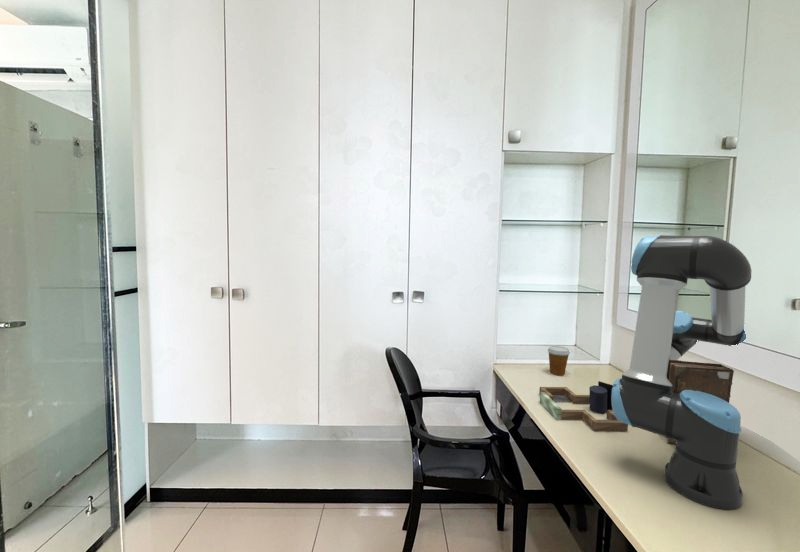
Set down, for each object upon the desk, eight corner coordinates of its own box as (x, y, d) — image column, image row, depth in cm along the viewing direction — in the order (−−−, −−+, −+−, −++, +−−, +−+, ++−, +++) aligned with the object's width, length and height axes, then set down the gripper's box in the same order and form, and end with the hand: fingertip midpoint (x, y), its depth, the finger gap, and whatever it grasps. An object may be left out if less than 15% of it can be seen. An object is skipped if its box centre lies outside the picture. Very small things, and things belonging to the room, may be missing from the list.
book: (717, 440, 115) (726, 363, 112) (731, 453, 108) (741, 371, 105) (657, 432, 119) (664, 358, 117) (667, 444, 112) (674, 365, 110)
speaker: (600, 404, 139) (601, 378, 137) (614, 411, 133) (615, 385, 131) (585, 408, 136) (586, 383, 134) (598, 416, 131) (599, 389, 129)
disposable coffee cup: (549, 368, 178) (550, 344, 177) (570, 373, 173) (571, 348, 171) (543, 374, 170) (545, 348, 169) (565, 378, 165) (567, 353, 164)
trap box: (631, 431, 119) (632, 419, 119) (567, 431, 118) (568, 419, 118) (584, 394, 148) (584, 384, 148) (531, 394, 147) (532, 384, 147)
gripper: (682, 370, 127) (631, 416, 128) (655, 358, 140) (609, 400, 141) (669, 355, 126) (618, 402, 127) (642, 345, 139) (596, 387, 140)
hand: (613, 401), depth 134 cm, fingers closed
